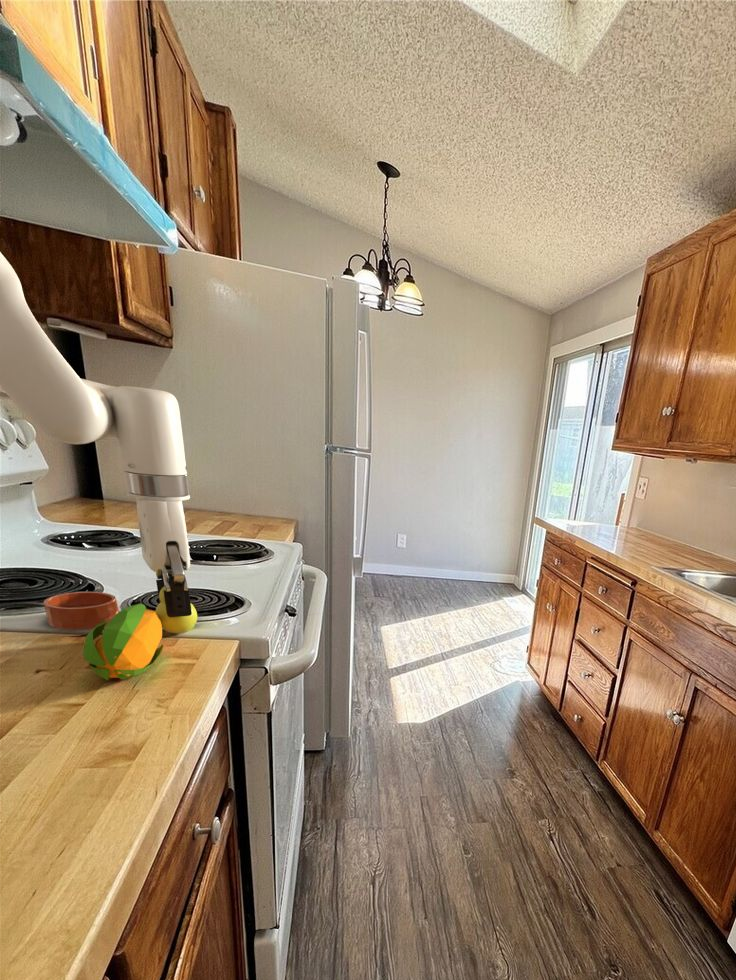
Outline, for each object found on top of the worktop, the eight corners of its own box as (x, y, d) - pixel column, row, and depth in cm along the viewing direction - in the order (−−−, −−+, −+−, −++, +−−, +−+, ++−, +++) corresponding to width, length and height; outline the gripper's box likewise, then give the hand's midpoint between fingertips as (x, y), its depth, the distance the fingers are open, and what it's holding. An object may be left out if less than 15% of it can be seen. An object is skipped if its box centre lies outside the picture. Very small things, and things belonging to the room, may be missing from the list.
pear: (161, 640, 83) (152, 582, 79) (154, 628, 87) (145, 572, 83) (203, 636, 86) (196, 579, 83) (194, 624, 90) (187, 570, 87)
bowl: (52, 641, 79) (44, 611, 77) (49, 622, 85) (42, 594, 83) (124, 633, 84) (119, 605, 82) (117, 616, 90) (112, 589, 88)
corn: (64, 634, 63) (116, 585, 80) (73, 694, 66) (121, 635, 83) (141, 637, 66) (175, 590, 83) (146, 695, 69) (178, 638, 86)
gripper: (118, 477, 81) (138, 596, 89) (135, 494, 70) (157, 630, 77) (176, 479, 86) (190, 593, 93) (202, 496, 74) (216, 624, 82)
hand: (175, 608), depth 85 cm, fingers closed on pear, 5 cm apart
